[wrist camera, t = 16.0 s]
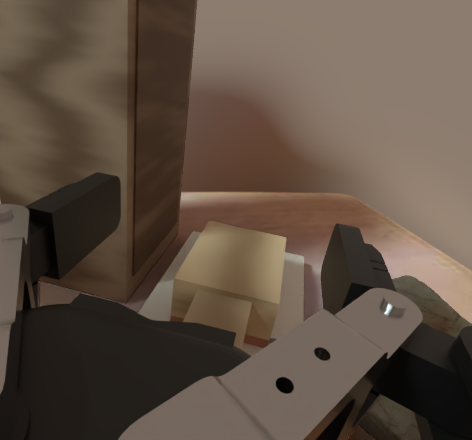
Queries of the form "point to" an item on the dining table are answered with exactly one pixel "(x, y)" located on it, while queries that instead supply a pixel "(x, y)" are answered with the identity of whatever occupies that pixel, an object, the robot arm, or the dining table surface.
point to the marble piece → (435, 315)
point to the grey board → (290, 295)
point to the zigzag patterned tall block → (99, 119)
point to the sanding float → (231, 282)
